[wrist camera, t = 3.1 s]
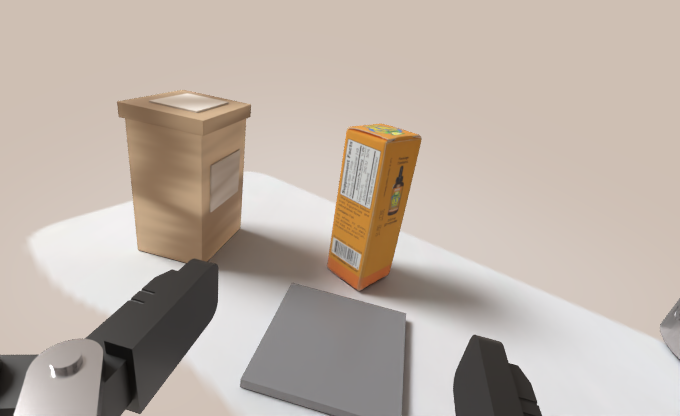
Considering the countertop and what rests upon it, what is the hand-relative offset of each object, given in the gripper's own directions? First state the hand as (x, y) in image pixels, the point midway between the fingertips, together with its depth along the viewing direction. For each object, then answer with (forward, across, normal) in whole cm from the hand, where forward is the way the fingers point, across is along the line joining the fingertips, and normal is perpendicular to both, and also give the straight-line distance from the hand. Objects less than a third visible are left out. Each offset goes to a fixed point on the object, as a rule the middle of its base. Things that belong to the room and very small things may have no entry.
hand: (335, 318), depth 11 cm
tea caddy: (+11, +12, +6) cm, 17 cm away
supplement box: (+12, 0, +7) cm, 14 cm away
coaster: (+5, 0, +6) cm, 8 cm away
